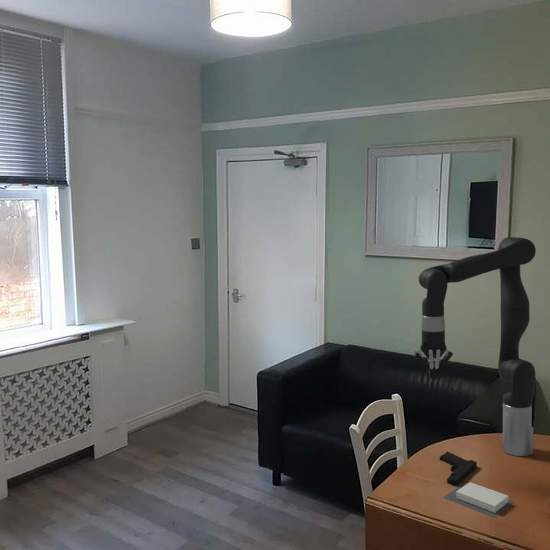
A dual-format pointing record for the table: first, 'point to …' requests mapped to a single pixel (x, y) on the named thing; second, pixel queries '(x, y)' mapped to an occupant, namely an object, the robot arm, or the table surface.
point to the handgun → (458, 467)
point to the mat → (452, 497)
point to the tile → (482, 497)
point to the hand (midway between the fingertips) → (433, 378)
